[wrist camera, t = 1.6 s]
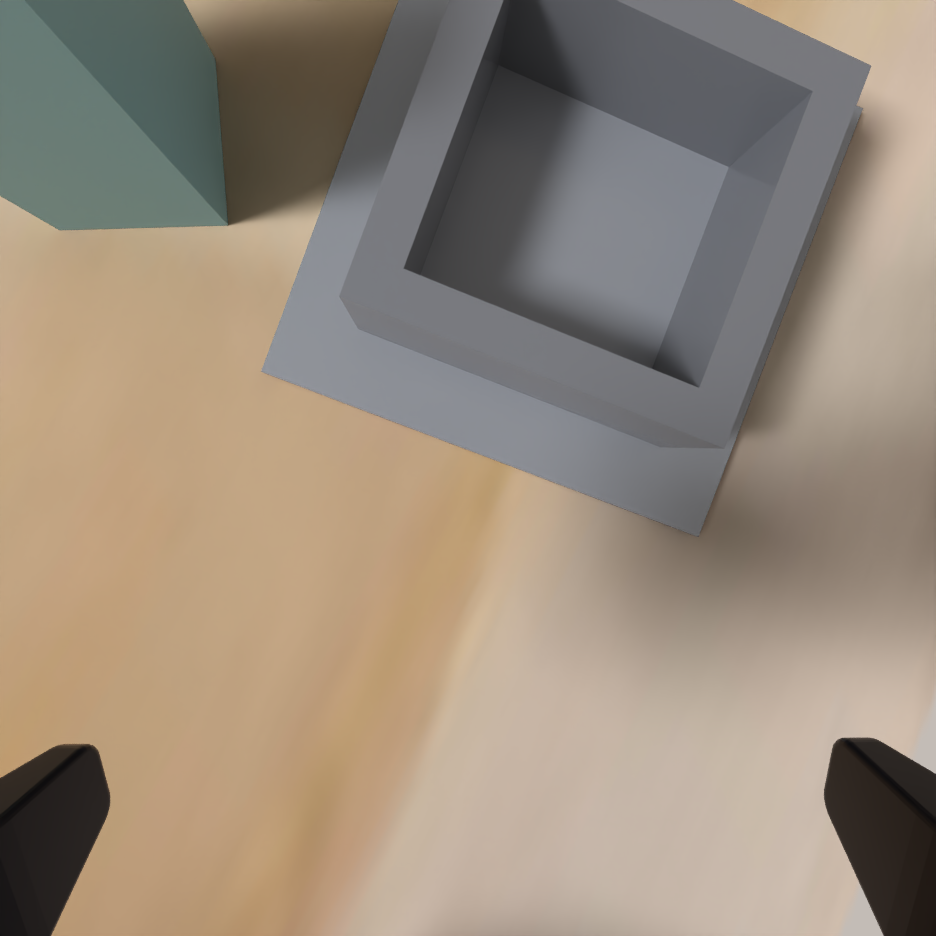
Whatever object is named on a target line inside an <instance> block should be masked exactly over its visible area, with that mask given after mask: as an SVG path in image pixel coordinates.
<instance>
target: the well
mask: <svg viewBox="0 0 936 936" xmlns="http://www.w3.org/2000/svg"><path fill="white" fill-rule="evenodd" d="M870 68H871V65H869V64H866V63H864V62H862V61H860V60H858V59H856V58H854V57H852V56H850V55H847V54H845V53H843V52H841V51H839V50H837V49H835V48H833V47H830V46H828V45H826V44H824V43H822V42H820V41H818V40H816V39H814V38H811V37H809V36H807V35H805V34H803V33H801V32H799V31H797V30H794V29H792V28H790V27H788V26H786V25H784V24H782V23H780V22H778V21H775V20H773V19H771V18H769V17H767V16H765V15H763V14H761V13H758V12H756V11H754V10H752V9H750V8H748V7H746V6H744V5H742V4H739V3H737V2H735V1H733V0H399V1H398V3H397V6H396V9H395V12H394V14H393V17H392V20H391V22H390V25H389V28H388V30H387V33H386V36H385V39H384V41H383V44H382V47H381V49H380V52H379V55H378V57H377V60H376V63H375V66H374V68H373V71H372V74H371V76H370V79H369V82H368V84H367V87H366V90H365V93H364V95H363V98H362V101H361V103H360V106H359V109H358V111H357V114H356V117H355V120H354V122H353V125H352V128H351V130H350V133H349V136H348V138H347V141H346V144H345V147H344V149H343V152H342V155H341V157H340V160H339V163H338V165H337V168H336V171H335V174H334V176H333V179H332V182H331V184H330V187H329V190H328V192H327V195H326V198H325V201H324V203H323V206H322V209H321V211H320V214H319V217H318V219H317V222H316V225H315V228H314V230H313V233H312V236H311V238H310V241H309V244H308V246H307V249H306V252H305V255H304V257H303V260H302V263H301V265H300V268H299V271H298V273H297V276H296V279H295V282H294V284H293V287H292V290H291V292H290V295H289V298H288V300H287V303H286V306H285V309H284V311H283V314H282V317H281V319H280V322H279V325H278V328H277V330H276V333H275V336H274V338H273V341H272V344H271V346H270V349H269V352H268V355H267V357H266V360H265V363H264V365H263V368H262V371H261V372H263V373H266V374H268V375H271V376H274V377H276V378H279V379H282V380H284V381H287V382H290V383H292V384H295V385H297V386H300V387H303V388H305V389H308V390H311V391H313V392H316V393H319V394H321V395H324V396H327V397H329V398H332V399H334V400H337V401H340V402H342V403H345V404H348V405H350V406H353V407H356V408H358V409H361V410H364V411H366V412H369V413H371V414H374V415H377V416H379V417H382V418H385V419H387V420H390V421H393V422H395V423H398V424H401V425H403V426H406V427H408V428H411V429H414V430H416V431H419V432H422V433H424V434H427V435H430V436H432V437H435V438H438V439H440V440H443V441H445V442H448V443H451V444H453V445H456V446H459V447H461V448H464V449H467V450H469V451H472V452H475V453H477V454H480V455H482V456H485V457H488V458H490V459H493V460H496V461H498V462H501V463H504V464H506V465H509V466H512V467H514V468H517V469H519V470H522V471H525V472H527V473H530V474H533V475H535V476H538V477H541V478H543V479H546V480H549V481H551V482H554V483H556V484H559V485H562V486H564V487H567V488H570V489H572V490H575V491H578V492H580V493H583V494H586V495H588V496H591V497H593V498H596V499H599V500H601V501H604V502H607V503H609V504H612V505H615V506H617V507H620V508H623V509H625V510H628V511H630V512H633V513H636V514H638V515H641V516H644V517H646V518H649V519H652V520H654V521H657V522H660V523H662V524H665V525H667V526H670V527H673V528H675V529H678V530H681V531H683V532H686V533H689V534H691V535H694V536H697V537H699V534H700V531H701V529H702V526H703V523H704V521H705V518H706V516H707V513H708V510H709V508H710V505H711V503H712V500H713V497H714V495H715V492H716V490H717V487H718V484H719V482H720V479H721V477H722V474H723V471H724V469H725V466H726V464H727V461H728V458H729V456H730V453H731V451H732V448H733V445H734V443H735V440H736V438H737V435H738V432H739V430H740V427H741V425H742V422H743V419H744V417H745V414H746V412H747V409H748V406H749V404H750V401H751V399H752V396H753V393H754V391H755V388H756V386H757V383H758V380H759V378H760V375H761V372H762V370H763V367H764V365H765V362H766V359H767V357H768V354H769V352H770V349H771V346H772V344H773V341H774V339H775V336H776V333H777V331H778V328H779V326H780V323H781V320H782V318H783V315H784V313H785V310H786V307H787V305H788V302H789V300H790V297H791V294H792V292H793V289H794V287H795V284H796V281H797V279H798V276H799V274H800V271H801V268H802V266H803V263H804V261H805V258H806V255H807V253H808V250H809V248H810V245H811V242H812V240H813V237H814V234H815V232H816V229H817V227H818V224H819V221H820V219H821V216H822V214H823V211H824V208H825V206H826V203H827V201H828V198H829V195H830V193H831V190H832V188H833V185H834V182H835V180H836V177H837V175H838V172H839V169H840V167H841V164H842V162H843V159H844V156H845V154H846V151H847V149H848V146H849V143H850V141H851V138H852V136H853V133H854V130H855V128H856V125H857V123H858V120H859V117H860V115H861V112H862V110H863V108H861V107H858V106H856V105H857V102H858V99H859V97H860V94H861V92H862V89H863V86H864V84H865V81H866V79H867V76H868V73H869V71H870Z"/></svg>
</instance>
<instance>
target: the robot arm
mask: <svg viewBox="0 0 936 936" xmlns="http://www.w3.org/2000/svg"><path fill="white" fill-rule="evenodd" d="M824 800H825V805H826V809H827V812H828V814H829V817H830V819H831V821H832V824H833V826H834V828H835V830H836V832H837V835H838V837H839V839H840V841H841V843H842V845H843V848H844V850H845V852H846V854H847V856H848V859H849V861H850V863H851V865H852V867H853V870H854V872H855V874H856V876H857V878H858V881H859V883H860V885H861V887H862V889H863V891H864V894H865V896H866V898H867V900H868V902H869V904H870V907H871V909H872V911H873V913H874V916H875V918H876V920H877V922H878V924H879V926H880V929H881V931H882V933H883V935H884V936H936V774H935V773H933V772H932V771H930V770H928V769H926V768H925V767H923V766H921V765H920V764H918V763H916V762H915V761H913V760H911V759H910V758H908V757H906V756H905V755H903V754H901V753H899V752H898V751H896V750H894V749H893V748H891V747H889V746H888V745H886V744H884V743H882V742H881V741H879V740H877V739H874V738H841V739H838V740H837V741H836V742H835V743H834V745H833V748H832V753H831V758H830V763H829V768H828V773H827V778H826V783H825V788H824ZM109 807H110V792H109V788H108V784H107V781H106V777H105V773H104V769H103V766H102V762H101V758H100V754H99V752H98V750H97V749H96V748H95V747H94V746H93V745H90V744H63V745H58V746H55V747H53V748H51V749H49V750H48V751H46V752H44V753H42V754H41V755H39V756H37V757H36V758H34V759H32V760H30V761H29V762H27V763H25V764H24V765H22V766H20V767H18V768H17V769H15V770H13V771H12V772H10V773H8V774H6V775H5V776H3V777H1V778H0V936H51V935H52V932H53V930H54V928H55V926H56V924H57V922H58V920H59V918H60V915H61V913H62V911H63V909H64V907H65V905H66V903H67V901H68V899H69V896H70V894H71V892H72V890H73V888H74V886H75V884H76V882H77V879H78V877H79V875H80V873H81V871H82V869H83V867H84V865H85V862H86V860H87V858H88V856H89V854H90V852H91V850H92V848H93V845H94V843H95V841H96V839H97V837H98V835H99V833H100V831H101V828H102V826H103V824H104V822H105V820H106V817H107V815H108V811H109Z"/></svg>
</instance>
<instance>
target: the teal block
mask: <svg viewBox="0 0 936 936" xmlns="http://www.w3.org/2000/svg"><path fill="white" fill-rule="evenodd" d="M0 196H1V197H3V198H5V199H7V200H8V201H10V202H12V203H13V204H15V205H17V206H19V207H20V208H22V209H24V210H25V211H27V212H29V213H31V214H32V215H34V216H36V217H38V218H39V219H41V220H43V221H44V222H46V223H48V224H50V225H51V226H53V227H55V228H56V229H58V230H85V229H120V228H155V227H190V226H225V225H228V217H227V204H226V191H225V178H224V165H223V152H222V139H221V126H220V113H219V100H218V87H217V74H216V61H215V58H214V56H213V54H212V52H211V50H210V48H209V47H208V45H207V43H206V41H205V39H204V37H203V36H202V34H201V32H200V30H199V28H198V26H197V25H196V23H195V21H194V19H193V17H192V15H191V14H190V12H189V10H188V8H187V6H186V4H185V3H184V1H183V0H0Z"/></svg>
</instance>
